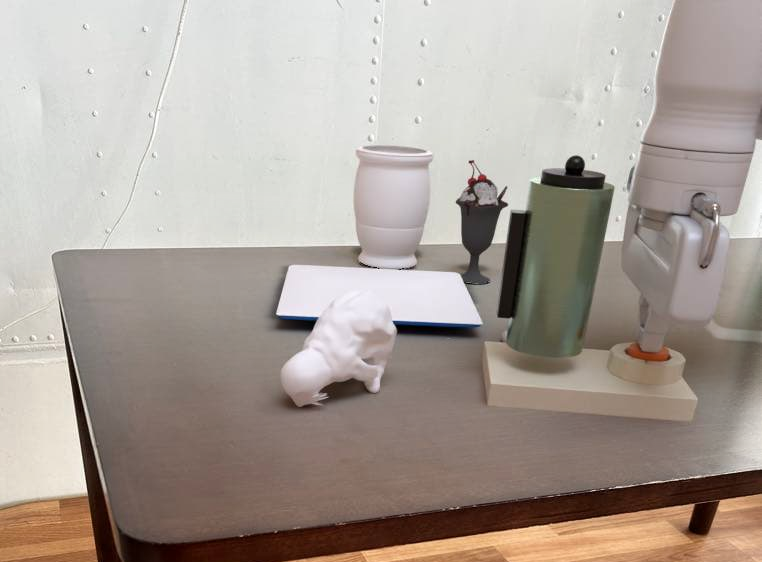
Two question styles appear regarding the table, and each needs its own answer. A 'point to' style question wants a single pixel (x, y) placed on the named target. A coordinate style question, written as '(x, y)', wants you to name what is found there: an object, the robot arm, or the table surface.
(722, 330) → the table surface
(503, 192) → the sundae
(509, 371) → the kettle base
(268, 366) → the table surface
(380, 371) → the white hunched creature figure
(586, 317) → the kettle
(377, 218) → the jar
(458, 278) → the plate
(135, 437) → the table surface
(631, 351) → the kettle switch
